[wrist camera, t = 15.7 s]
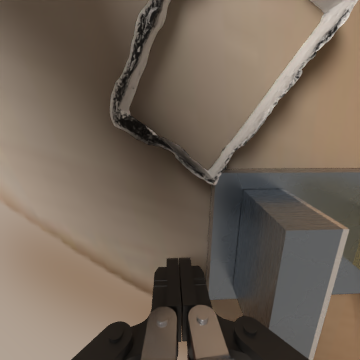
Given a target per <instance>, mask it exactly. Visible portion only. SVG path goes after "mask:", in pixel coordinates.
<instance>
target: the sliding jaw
mask: <svg viewBox="0 0 360 360" xmlns="http://www.w3.org/2000/svg"><path fill="white" fill-rule="evenodd" d="M348 233H349V229H348V228H347V227H345V226H344V225H342V224H340V223H339V222H337V221H335V220H334V219H332V218H331V217H329V216H327V215H326V214H324V213H322V212H321V211H319V210H317V209H316V208H314V207H313V206H311V205H309V204H308V203H306V202H304V201H303V200H301V199H300V198H298V197H296V196H295V195H293V194H291V193H290V192H288V191H287V190H285V189H269V190H243V199H242V208H241V218H240V227H239V236H238V246H237V255H236V265H235V274H234V284H233V290H234V292H235V295H236V297H237V300H238V303H239V305H240V308H241V310H242V313H243V315H244V316H249V317H252V318H254V319H256V320H257V321H259V322H260V323H261V324H263V325H264V326H265V327H267V328H268V329H269V330H271V331H272V332H273V333H275V334H276V335H277V336H279V337H280V338H281V339H283V340H284V341H285V342H287V343H288V344H289V345H291V346H292V347H293V348H295V349H296V350H297V351H299V352H300V353H301V354H303V355H304V356H305V357H306V358H308V359H309V360H313V358H314V355H315V351H316V348H317V344H318V340H319V337H320V333H321V330H322V326H323V323H324V319H325V315H326V312H327V308H328V305H329V301H330V297H331V294H332V290H333V287H334V283H335V279H336V276H337V272H338V269H339V265H340V262H341V258H342V254H343V251H344V247H345V244H346V240H347V236H348Z"/></svg>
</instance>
